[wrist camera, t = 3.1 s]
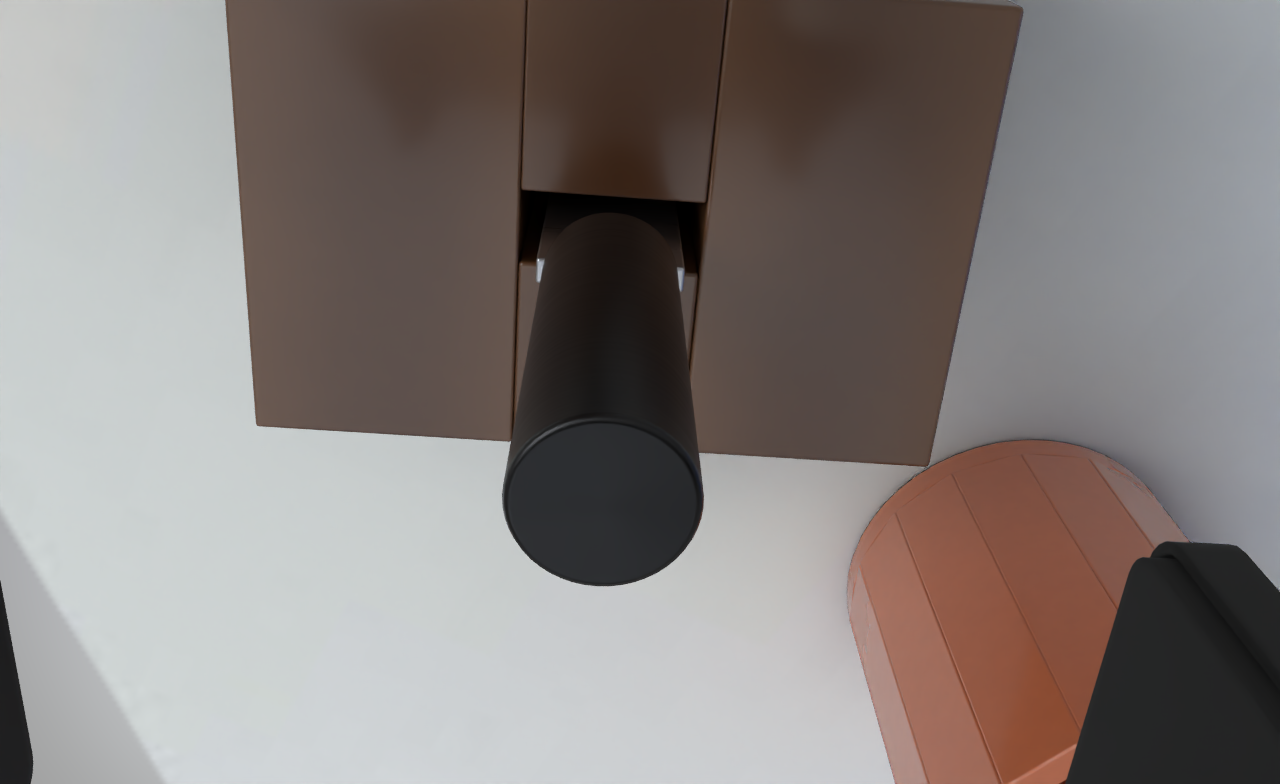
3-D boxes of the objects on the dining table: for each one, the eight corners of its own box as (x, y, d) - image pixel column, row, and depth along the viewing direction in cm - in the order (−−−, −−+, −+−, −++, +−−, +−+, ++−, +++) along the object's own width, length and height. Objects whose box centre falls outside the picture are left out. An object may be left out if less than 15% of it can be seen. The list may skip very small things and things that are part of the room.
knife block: (921, -43, 24) (1026, 7, 18) (860, 319, 28) (930, 468, 21) (327, -91, 24) (219, -57, 17) (341, 285, 27) (255, 427, 21)
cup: (1211, 449, 29) (1471, 730, 20) (1124, 714, 33) (1312, 1052, 24) (874, 428, 29) (987, 704, 20) (824, 698, 33) (901, 1036, 24)
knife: (669, 87, 25) (724, 423, 11) (661, 179, 26) (704, 596, 12) (565, 80, 25) (492, 408, 11) (561, 172, 26) (489, 583, 12)
